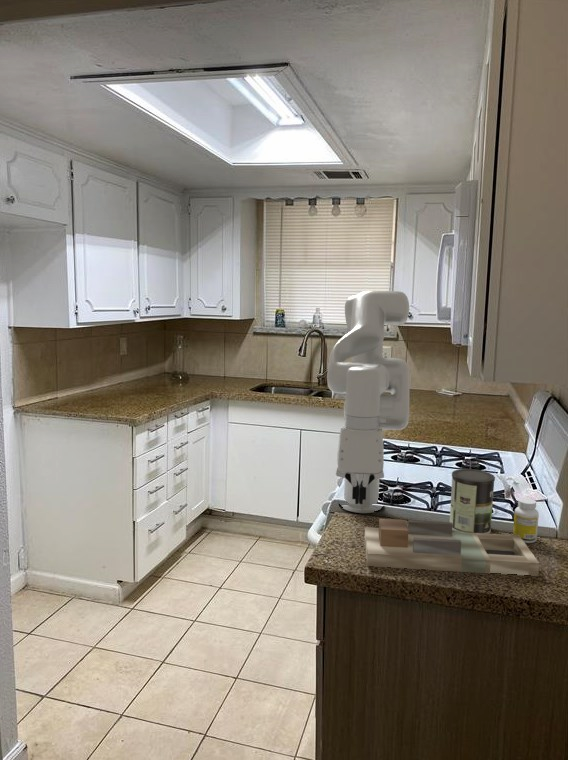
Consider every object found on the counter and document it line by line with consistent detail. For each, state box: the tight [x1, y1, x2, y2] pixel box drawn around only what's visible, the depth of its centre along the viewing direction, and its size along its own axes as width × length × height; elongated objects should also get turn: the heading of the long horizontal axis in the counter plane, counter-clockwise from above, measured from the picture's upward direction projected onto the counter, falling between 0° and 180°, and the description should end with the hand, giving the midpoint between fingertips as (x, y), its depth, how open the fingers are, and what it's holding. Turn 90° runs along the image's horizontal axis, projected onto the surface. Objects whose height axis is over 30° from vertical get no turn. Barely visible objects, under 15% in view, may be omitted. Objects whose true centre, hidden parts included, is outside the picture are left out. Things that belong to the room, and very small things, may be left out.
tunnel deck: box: [363, 519, 540, 577], centre depth 131 cm, size 14×36×6 cm, turn 85°
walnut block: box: [378, 518, 409, 548], centre depth 131 cm, size 6×6×4 cm
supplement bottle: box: [512, 497, 540, 544], centre depth 140 cm, size 5×5×10 cm
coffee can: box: [449, 468, 496, 534], centre depth 146 cm, size 10×10×14 cm
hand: (358, 502), depth 130 cm, fingers closed
